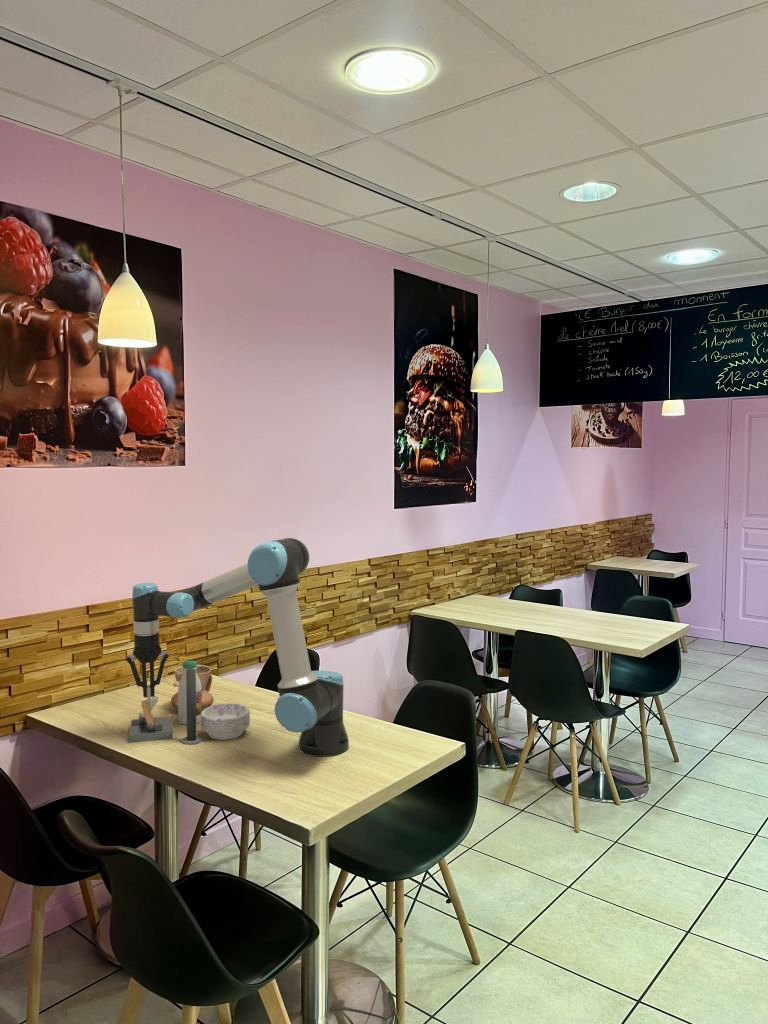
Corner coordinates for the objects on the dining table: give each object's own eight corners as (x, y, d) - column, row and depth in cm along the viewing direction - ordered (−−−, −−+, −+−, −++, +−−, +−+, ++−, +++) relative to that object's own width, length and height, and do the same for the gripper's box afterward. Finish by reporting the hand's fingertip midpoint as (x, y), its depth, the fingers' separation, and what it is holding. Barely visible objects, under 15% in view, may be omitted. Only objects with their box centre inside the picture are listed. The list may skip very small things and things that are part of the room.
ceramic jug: (189, 719, 254) (190, 677, 253) (158, 711, 261) (159, 670, 260) (226, 706, 269) (227, 666, 268) (196, 698, 276) (197, 660, 276)
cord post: (202, 743, 232) (201, 672, 230) (181, 745, 230) (181, 673, 229) (201, 736, 238) (200, 666, 236) (181, 738, 236) (180, 668, 235)
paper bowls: (200, 745, 231) (200, 720, 230) (201, 728, 245) (200, 704, 245) (251, 741, 234) (251, 716, 234) (248, 725, 249) (248, 701, 248)
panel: (173, 738, 236) (173, 730, 236) (129, 742, 232) (129, 734, 232) (173, 723, 249) (173, 716, 249) (131, 727, 246) (131, 719, 246)
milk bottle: (177, 726, 247) (176, 665, 246) (178, 718, 255) (178, 659, 253) (201, 724, 249) (201, 664, 247) (202, 716, 256) (202, 658, 255)
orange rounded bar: (155, 728, 236) (147, 703, 235) (149, 730, 235) (140, 705, 234) (155, 723, 240) (147, 699, 239) (149, 725, 240) (141, 701, 239)
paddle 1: (142, 724, 242) (158, 701, 242) (137, 721, 241) (153, 698, 242) (143, 719, 246) (158, 697, 247) (138, 716, 246) (153, 694, 246)
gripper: (167, 628, 241) (170, 701, 243) (126, 631, 238) (129, 705, 240) (167, 634, 234) (170, 708, 236) (124, 637, 230) (127, 713, 233)
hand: (149, 706), depth 238 cm, fingers closed
